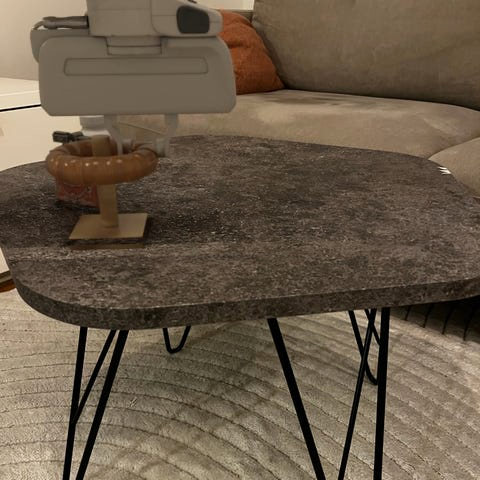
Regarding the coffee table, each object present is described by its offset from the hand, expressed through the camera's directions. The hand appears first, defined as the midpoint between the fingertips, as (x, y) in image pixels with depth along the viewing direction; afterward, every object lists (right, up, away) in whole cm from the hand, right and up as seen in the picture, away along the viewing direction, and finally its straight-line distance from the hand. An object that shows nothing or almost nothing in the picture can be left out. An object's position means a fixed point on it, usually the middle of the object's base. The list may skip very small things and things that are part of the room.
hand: (145, 157), depth 65 cm
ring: (-5, 0, 0) cm, 5 cm away
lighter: (-10, -4, +13) cm, 17 cm away
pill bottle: (-11, +3, +26) cm, 28 cm away
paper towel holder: (-5, -8, +4) cm, 10 cm away
